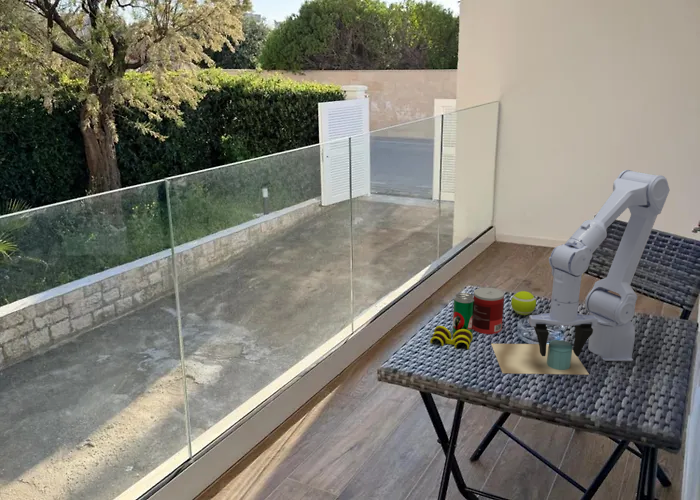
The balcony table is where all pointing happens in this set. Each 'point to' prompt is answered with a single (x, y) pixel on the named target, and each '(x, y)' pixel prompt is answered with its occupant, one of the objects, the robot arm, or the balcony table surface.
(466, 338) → the opera glasses
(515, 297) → the tennis ball
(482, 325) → the canned food
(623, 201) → the robot arm
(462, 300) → the soda can
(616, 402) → the balcony table surface
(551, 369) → the birch board
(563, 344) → the teal cap
